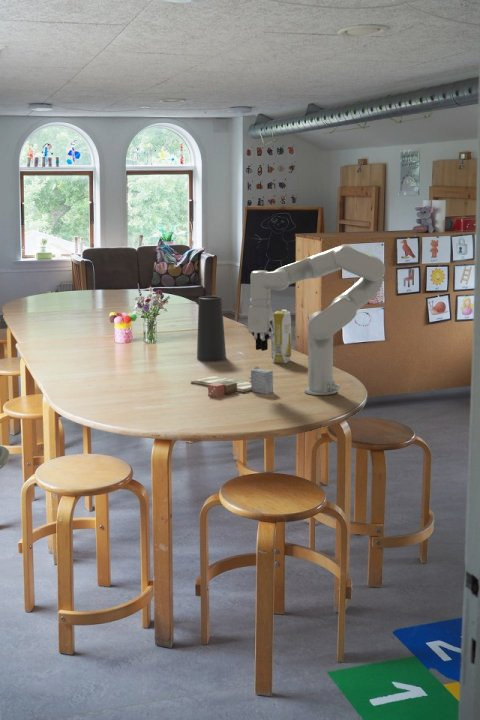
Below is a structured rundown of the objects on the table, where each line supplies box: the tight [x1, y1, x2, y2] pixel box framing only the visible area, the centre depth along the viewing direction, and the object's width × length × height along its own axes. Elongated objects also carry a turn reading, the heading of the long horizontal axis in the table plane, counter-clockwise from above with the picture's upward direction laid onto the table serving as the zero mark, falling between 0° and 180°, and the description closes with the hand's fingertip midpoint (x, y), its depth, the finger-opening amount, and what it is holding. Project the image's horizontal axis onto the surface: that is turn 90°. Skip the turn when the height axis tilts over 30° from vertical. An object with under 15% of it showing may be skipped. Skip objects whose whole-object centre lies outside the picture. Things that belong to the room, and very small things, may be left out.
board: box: [190, 375, 252, 395], centre depth 359 cm, size 29×13×1 cm, turn 48°
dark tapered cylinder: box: [196, 295, 227, 362], centre depth 413 cm, size 14×14×29 cm
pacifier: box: [248, 366, 261, 380], centre depth 365 cm, size 7×6×6 cm
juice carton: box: [270, 309, 292, 364], centre depth 403 cm, size 9×8×24 cm
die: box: [207, 383, 226, 398], centre depth 343 cm, size 4×4×5 cm
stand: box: [219, 381, 238, 396], centre depth 346 cm, size 6×6×4 cm
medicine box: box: [250, 368, 274, 395], centre depth 347 cm, size 8×4×9 cm, turn 47°
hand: (261, 349), depth 344 cm, fingers closed
